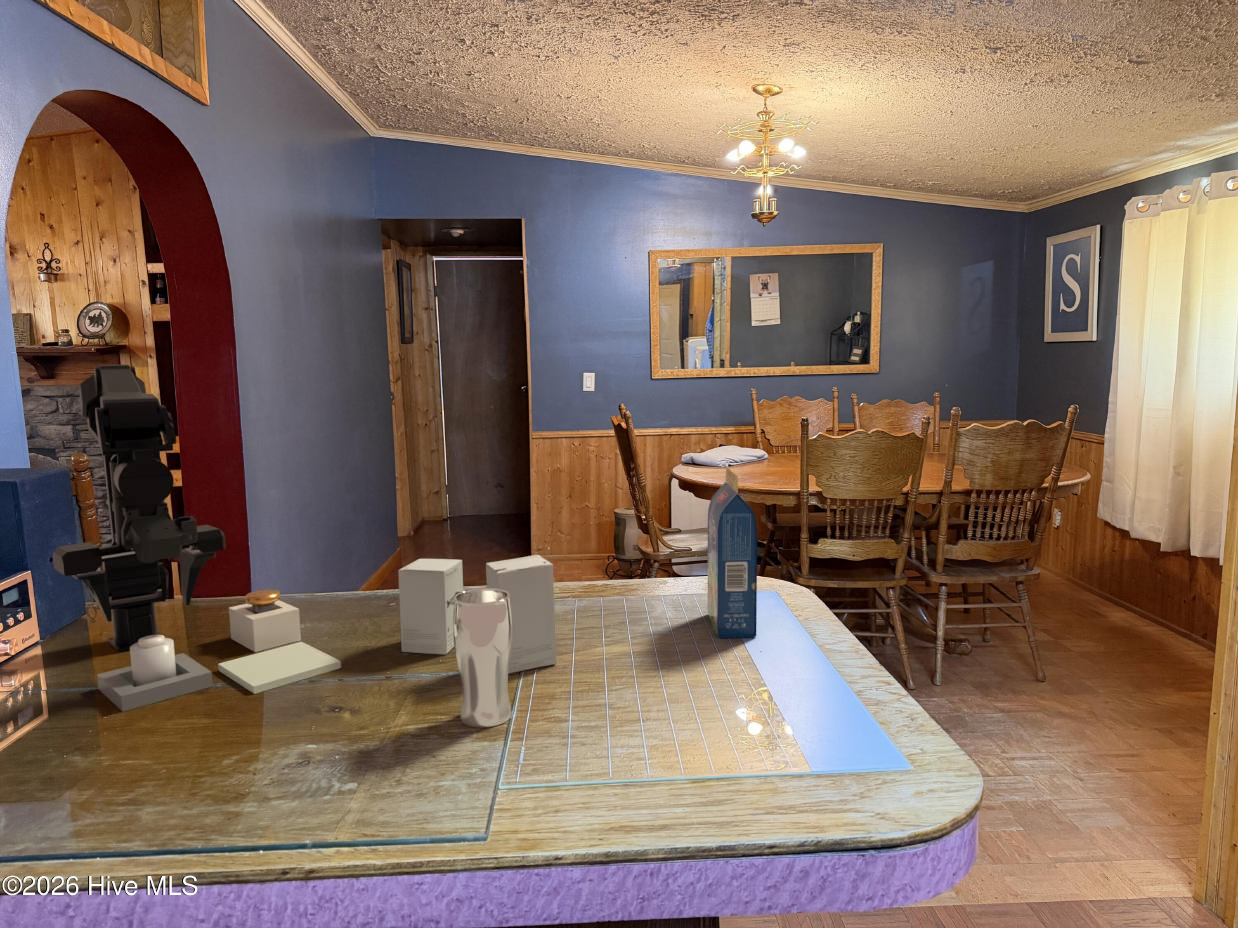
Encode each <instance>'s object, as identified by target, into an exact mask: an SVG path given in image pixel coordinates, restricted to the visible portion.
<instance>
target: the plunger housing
mask: <svg viewBox="0 0 1238 928" xmlns="http://www.w3.org/2000/svg"><path fill="white" fill-rule="evenodd" d="M228 613H229V614H228V615H229V626H230V627H229V628H230V629H229V630H230V639H231V640H233V641H234V642H236V643H238V644H240V645H241V646H243V647H245V648H247V649H248V650H251V651H252V652H254V653H259V652H263V651H267V650H271V649H274V648H278V647H282V646H286V645H288V644H289V645H290V644H293V643H297V642H301V641H302V637H301V636H302V635H301V633H302V632H301V621H300V620H301V619H300V609H299V608H298V607H295V606H294V605H291V604H289V603H286V602H284V601H282V600H280V599H279V600H278V601H276V602H275V610H272V611H267V612H263V613H259V614H254V613H253V611H252V605H250V604H247V603H244V604H243V603H242V604H239V605H235V606H234V605H233V606H230V607H228Z"/></svg>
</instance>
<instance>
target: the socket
mask: <svg viewBox="0 0 1238 928" xmlns="http://www.w3.org/2000/svg"><path fill="white" fill-rule="evenodd" d="M175 665H176V676H175V677H171V678H167V679H164V680H160V681H156V682H152V683H149V684H145V685H141V686H137V687H134V686H133V677H132V666H131V665H130V666H126V667H122V668H117V669H114V670H110V671H109V670H108V671H107V672H101V673H98V674H96V677H97V687H98V688H97V689H98V690H99V691H100V692H101V693H102V694H103V695H104V696H105V697H106V698H107V699H109V701H111V702H112V703H113V704H114V705H115V706H116V707H117V708H118V709H119V710H120V711H122V712H127V711H131V710H134V709H138V708H141V707H145V706H149V705H153V704H156V703H159V702H162V701H166V700H170V699H174V698H176V697H180V696H184V695H187V694H190V693H191V694H192V693H194V692H198V691H202V690H204V689H205V690H206V689H207V688H208V689H209V688H212V687H214V686H213V685H214V683H213V682H214V681H213V674H212V673H213V672H212V671H211V670H209V669H208V668H207V667H205V666H203V665H202V664H200V663H199V662H197V661H196V660H194V658H191V657H190V656H189V655H187V654H185V653H183V652H182V653H177V654H175Z"/></svg>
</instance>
